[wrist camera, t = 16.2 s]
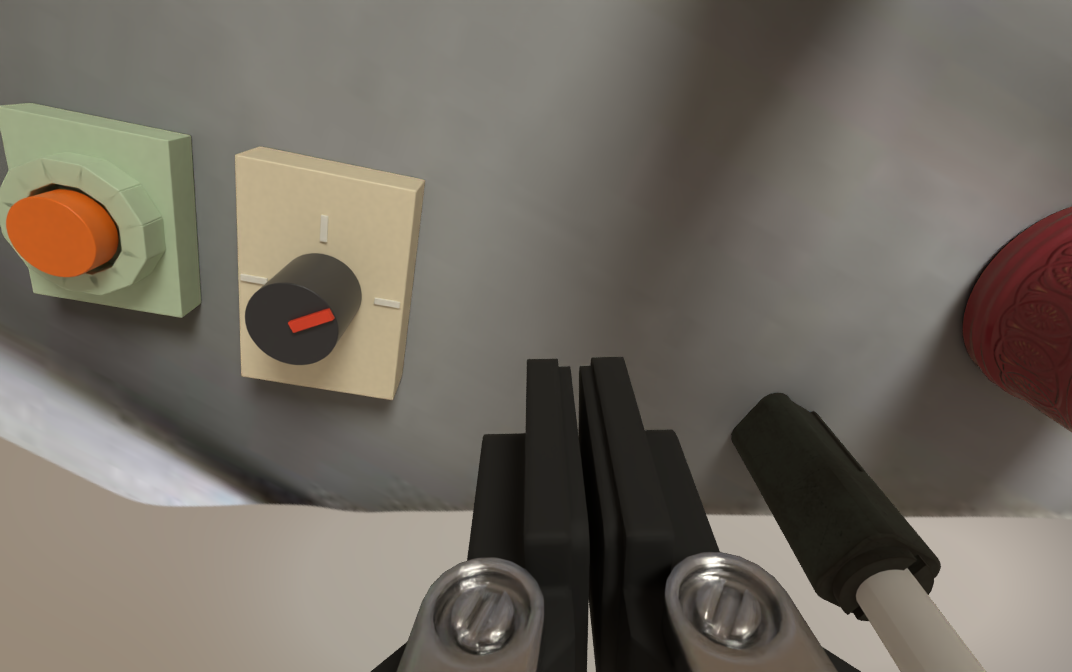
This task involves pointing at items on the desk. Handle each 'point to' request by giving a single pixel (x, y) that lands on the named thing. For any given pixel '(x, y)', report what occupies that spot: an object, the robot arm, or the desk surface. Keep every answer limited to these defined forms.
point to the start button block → (111, 202)
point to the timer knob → (304, 309)
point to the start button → (62, 232)
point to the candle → (849, 534)
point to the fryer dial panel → (341, 232)
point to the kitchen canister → (1027, 318)
